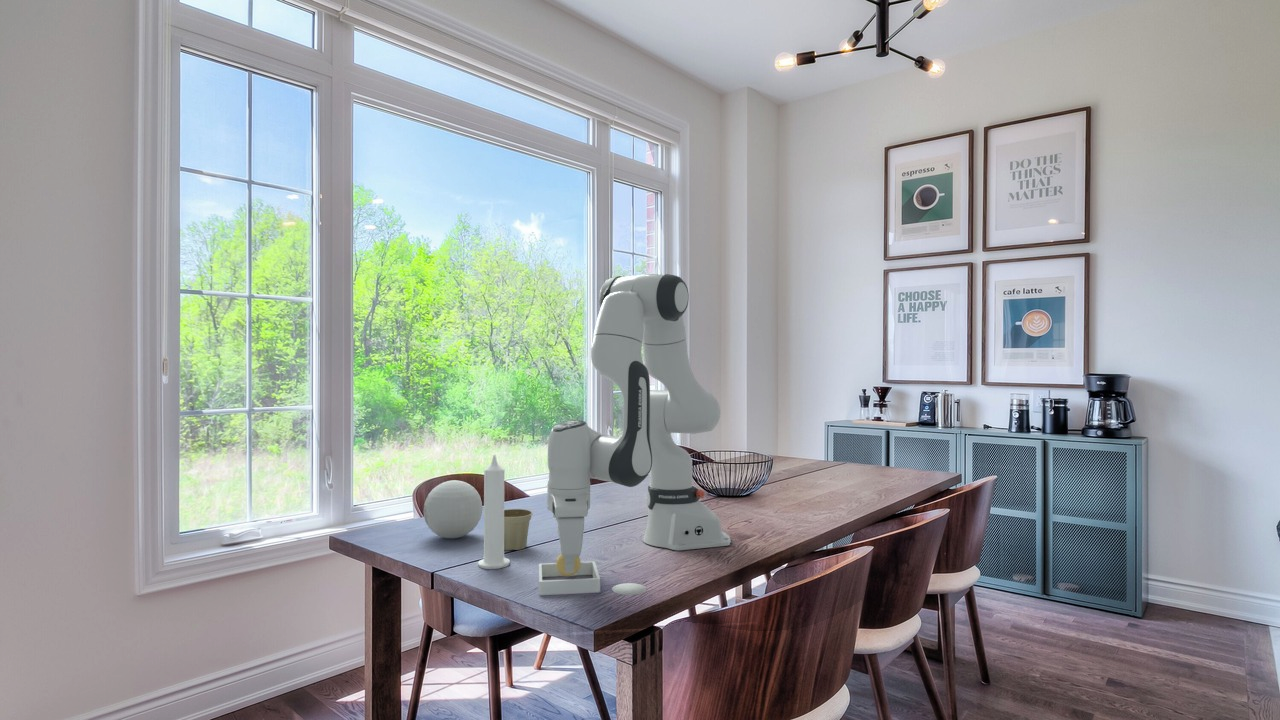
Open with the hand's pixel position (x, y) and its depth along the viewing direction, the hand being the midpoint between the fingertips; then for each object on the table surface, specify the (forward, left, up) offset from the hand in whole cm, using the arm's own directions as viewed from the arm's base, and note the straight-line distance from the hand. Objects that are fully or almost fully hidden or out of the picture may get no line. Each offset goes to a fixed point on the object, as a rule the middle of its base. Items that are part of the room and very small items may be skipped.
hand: (568, 567), depth 137 cm
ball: (0, 0, -2) cm, 2 cm away
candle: (+16, -17, -4) cm, 24 cm away
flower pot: (+12, -31, -4) cm, 34 cm away
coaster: (-12, +5, -4) cm, 13 cm away
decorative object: (+28, -43, -4) cm, 52 cm away
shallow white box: (0, 0, -4) cm, 4 cm away
